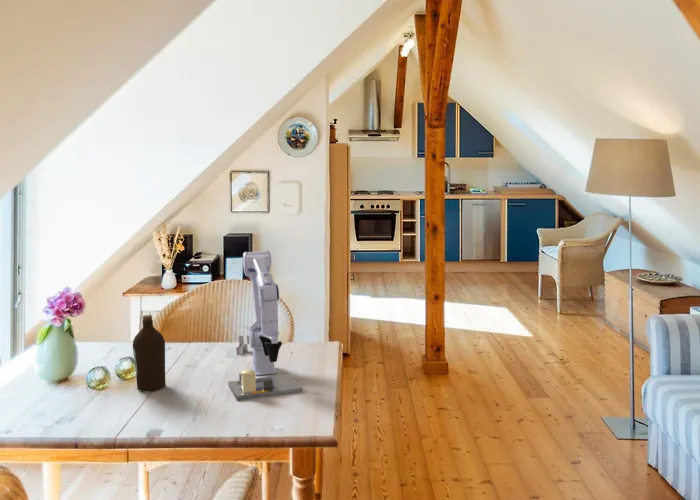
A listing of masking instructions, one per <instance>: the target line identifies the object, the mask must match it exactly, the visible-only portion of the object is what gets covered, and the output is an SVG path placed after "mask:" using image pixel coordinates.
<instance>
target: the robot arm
mask: <svg viewBox="0 0 700 500" xmlns="http://www.w3.org/2000/svg"><path fill="white" fill-rule="evenodd" d="M242 264H243V274H244V275H245V277H247V278H249V280H250V283H251V290H252V299H253V300H252V301H253V310H254V320H255V321H254V322H253V323H252V324H251V325H249V327H248V336H249V347H250V348H251V349H253V350H252V366H250V370H254V371H255V376H264V375H272V374H278V370H277V369H276V367H275V363H277V362H278V357H279V353H280V352H279V351H280V349H281V347H282V345H283V342H282V341H281V340H280V341H279V336H280V331H279V315H278V314H279V313H278V311H279V310H278V309H279V308H278V306H279V305H278V303H279V300H280V289H279V285H278V284H277V283H275V280H274V278H273V274H271V268H272V253H271V252H270V250H263V251H262V250H261V251H244V252H243V253H242Z"/></svg>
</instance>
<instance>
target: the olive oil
mask: <svg viewBox="0 0 700 500" xmlns="http://www.w3.org/2000/svg"><path fill="white" fill-rule="evenodd" d="M132 350H133V351H132V353H133V359H134V361H133V362H134V369H135V376H136V377H135V379H136V380H135V381H136V388H137V390H138V391H140V390H141V391H140V392H144V391H151V392H156V390H157V391H160V389H161V390H162V389H165V387H166V340H165V337H164V336H163V335H162V333H161V332H159V330H157V328H155V327H154V322H153V315H150V314H148V315H147V314H146V315H143V316H142V327H141V329H140V330H139V331H138V333H137V334H136V335H135V336H134V338H133V341H132Z"/></svg>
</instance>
